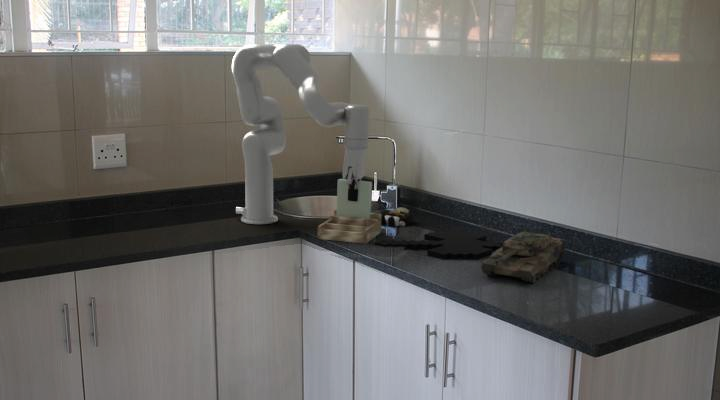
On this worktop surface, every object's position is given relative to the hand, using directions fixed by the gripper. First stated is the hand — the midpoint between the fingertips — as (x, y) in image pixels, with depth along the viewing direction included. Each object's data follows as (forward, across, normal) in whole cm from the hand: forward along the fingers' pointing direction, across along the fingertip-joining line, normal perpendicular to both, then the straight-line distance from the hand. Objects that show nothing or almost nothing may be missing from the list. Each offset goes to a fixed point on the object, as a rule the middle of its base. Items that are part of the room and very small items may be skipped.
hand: (353, 199), depth 263 cm
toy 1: (+12, -18, +10) cm, 23 cm away
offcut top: (+7, +6, +1) cm, 9 cm away
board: (+8, 0, 0) cm, 8 cm away
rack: (+11, +6, +1) cm, 13 cm away
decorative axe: (+11, +6, +32) cm, 34 cm away
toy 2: (+10, +25, +57) cm, 63 cm away
